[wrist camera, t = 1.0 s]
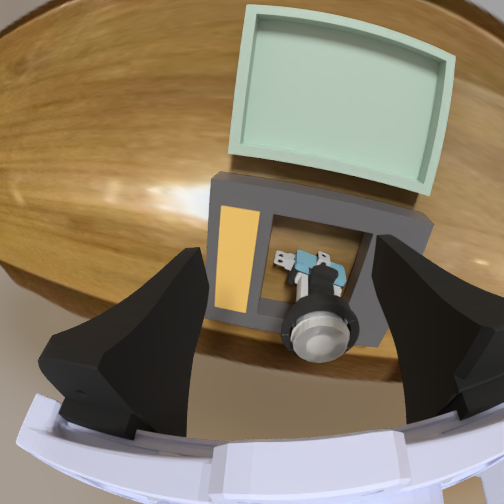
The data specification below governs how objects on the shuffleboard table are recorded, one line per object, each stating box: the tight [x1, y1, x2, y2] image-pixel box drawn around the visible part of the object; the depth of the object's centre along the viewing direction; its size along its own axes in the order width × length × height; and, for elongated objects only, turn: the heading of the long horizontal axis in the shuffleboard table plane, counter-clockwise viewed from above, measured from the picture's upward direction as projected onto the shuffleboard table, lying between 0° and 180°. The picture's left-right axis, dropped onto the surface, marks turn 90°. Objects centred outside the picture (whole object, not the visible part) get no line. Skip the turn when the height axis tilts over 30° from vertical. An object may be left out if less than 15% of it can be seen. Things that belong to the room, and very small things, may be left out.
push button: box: [274, 250, 360, 363], centre depth 22 cm, size 7×5×10 cm
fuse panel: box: [205, 172, 434, 347], centre depth 25 cm, size 18×14×3 cm
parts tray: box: [228, 4, 455, 196], centre depth 18 cm, size 16×12×2 cm
